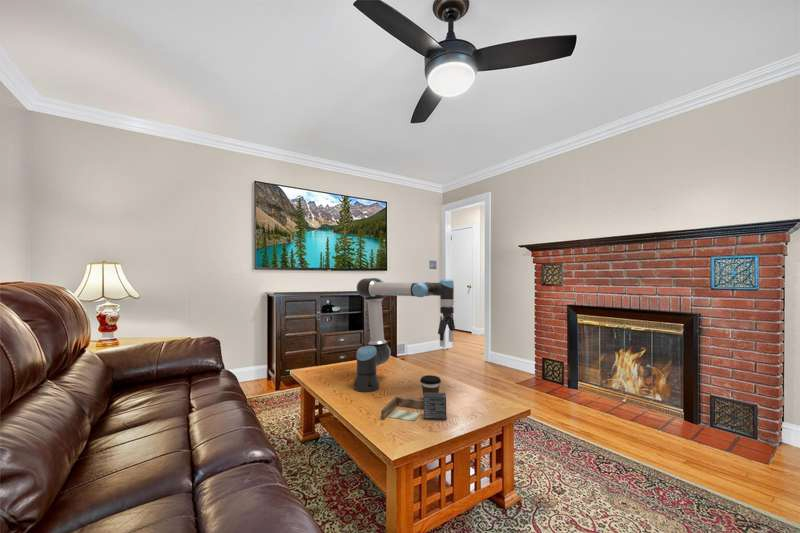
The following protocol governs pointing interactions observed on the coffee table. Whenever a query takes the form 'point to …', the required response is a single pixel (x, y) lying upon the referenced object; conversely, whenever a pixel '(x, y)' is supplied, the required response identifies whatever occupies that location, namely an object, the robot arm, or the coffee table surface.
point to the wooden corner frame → (401, 413)
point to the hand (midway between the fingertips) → (446, 344)
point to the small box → (435, 406)
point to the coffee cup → (430, 384)
